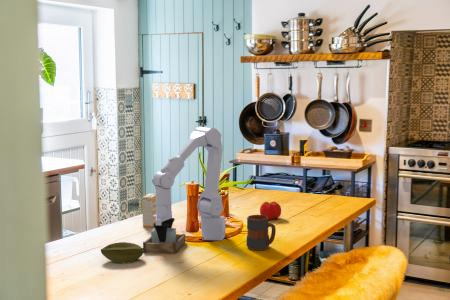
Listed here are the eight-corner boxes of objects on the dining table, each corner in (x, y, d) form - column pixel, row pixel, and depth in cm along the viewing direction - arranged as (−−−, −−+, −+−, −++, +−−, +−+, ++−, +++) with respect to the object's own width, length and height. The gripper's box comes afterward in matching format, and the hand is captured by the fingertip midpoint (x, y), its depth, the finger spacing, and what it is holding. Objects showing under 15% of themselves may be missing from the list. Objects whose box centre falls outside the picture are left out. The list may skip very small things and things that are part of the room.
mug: (269, 254, 214) (268, 222, 212) (241, 248, 221) (241, 217, 220) (281, 248, 221) (281, 217, 219) (254, 243, 228) (254, 213, 226)
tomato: (257, 220, 263) (257, 203, 262) (263, 215, 271) (263, 199, 270) (277, 222, 259) (277, 205, 258) (283, 217, 267) (283, 201, 266)
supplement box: (153, 227, 253) (152, 197, 251) (142, 227, 254) (141, 196, 252) (159, 222, 261) (158, 193, 259) (148, 222, 262) (147, 193, 260)
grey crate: (176, 242, 225) (175, 228, 224) (172, 246, 220) (172, 231, 219) (156, 241, 226) (155, 227, 225) (151, 245, 221) (151, 231, 221)
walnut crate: (185, 243, 228) (185, 233, 228) (175, 253, 215) (175, 243, 215) (154, 242, 231) (154, 232, 230) (143, 252, 218) (142, 242, 217)
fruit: (124, 268, 201) (123, 249, 200) (99, 262, 207) (98, 243, 207) (147, 259, 210) (146, 241, 209) (122, 253, 217) (121, 236, 216)
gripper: (159, 199, 229) (160, 233, 230) (147, 208, 215) (148, 244, 216) (176, 200, 227) (177, 234, 229) (165, 208, 213) (166, 245, 215)
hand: (164, 239), depth 223 cm, fingers closed on grey crate, 5 cm apart
